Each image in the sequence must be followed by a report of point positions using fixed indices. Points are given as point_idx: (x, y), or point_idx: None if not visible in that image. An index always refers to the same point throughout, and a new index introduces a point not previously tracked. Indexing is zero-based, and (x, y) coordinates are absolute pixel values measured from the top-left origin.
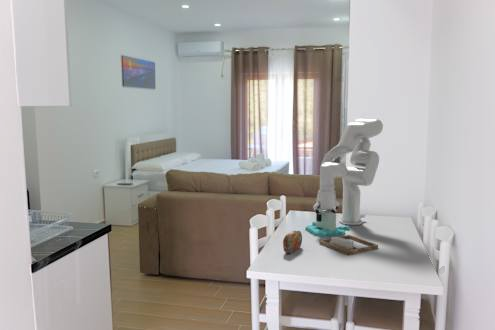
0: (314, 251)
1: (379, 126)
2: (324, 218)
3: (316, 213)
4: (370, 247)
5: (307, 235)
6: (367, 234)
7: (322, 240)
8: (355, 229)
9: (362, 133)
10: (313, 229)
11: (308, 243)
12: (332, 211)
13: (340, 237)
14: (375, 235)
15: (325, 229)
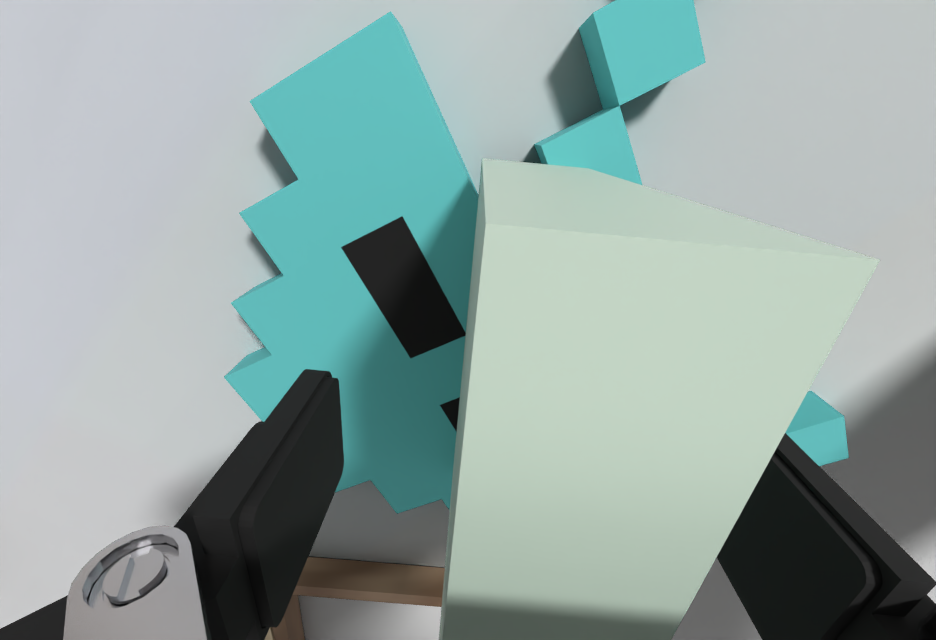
0: (33, 611)
1: None
2: (453, 486)
3: (150, 548)
4: None
5: (164, 329)
6: (730, 600)
7: None
8: (841, 473)
9: None
10: (297, 295)
11: (56, 499)
12: (849, 627)
13: (390, 596)
14: (747, 636)
15: (455, 387)
